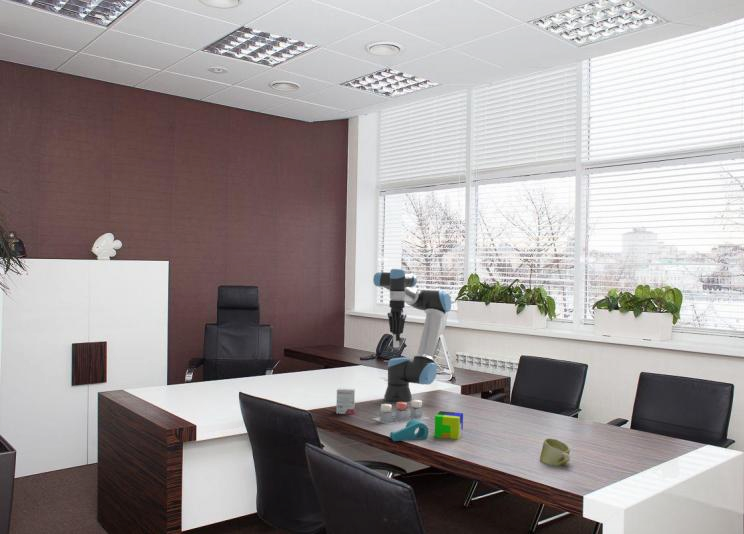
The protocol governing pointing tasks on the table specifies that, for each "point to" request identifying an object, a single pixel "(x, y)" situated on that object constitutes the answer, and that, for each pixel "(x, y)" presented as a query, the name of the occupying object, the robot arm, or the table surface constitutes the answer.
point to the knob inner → (416, 403)
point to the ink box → (345, 401)
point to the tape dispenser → (410, 431)
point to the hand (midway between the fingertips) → (396, 347)
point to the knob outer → (386, 408)
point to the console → (401, 416)
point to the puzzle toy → (449, 425)
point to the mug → (554, 452)
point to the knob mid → (401, 405)
